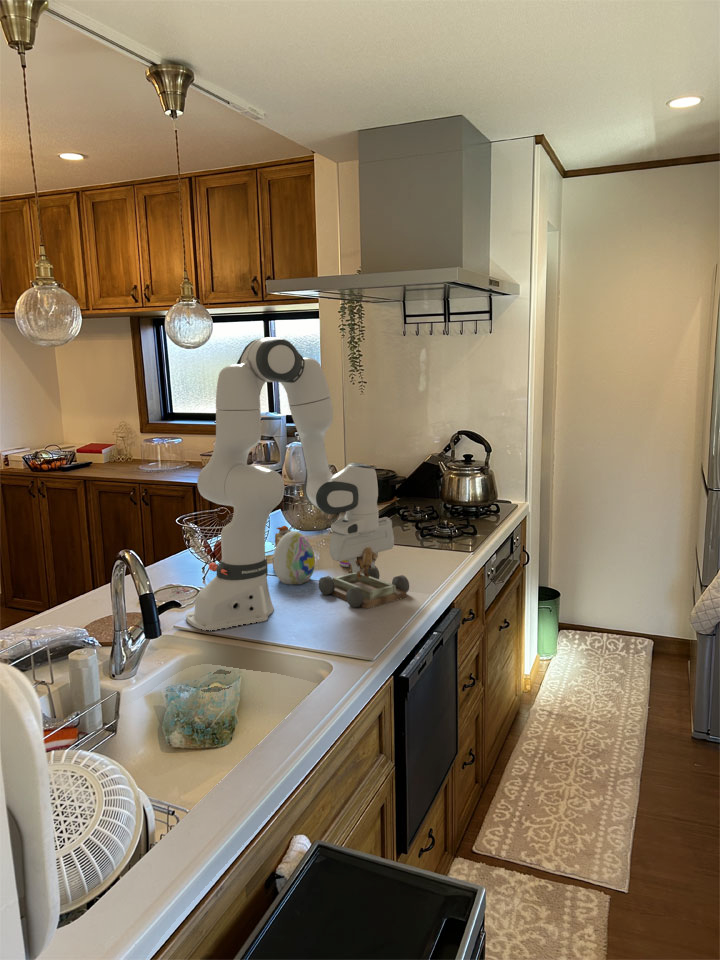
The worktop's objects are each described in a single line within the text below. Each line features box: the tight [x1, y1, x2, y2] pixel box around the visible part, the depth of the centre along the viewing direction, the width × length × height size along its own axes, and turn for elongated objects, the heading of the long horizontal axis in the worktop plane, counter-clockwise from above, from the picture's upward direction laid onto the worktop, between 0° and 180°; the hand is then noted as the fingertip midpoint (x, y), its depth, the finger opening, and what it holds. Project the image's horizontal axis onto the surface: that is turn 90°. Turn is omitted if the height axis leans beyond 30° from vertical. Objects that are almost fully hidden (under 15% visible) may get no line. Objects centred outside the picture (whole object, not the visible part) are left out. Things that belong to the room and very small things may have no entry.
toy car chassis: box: [318, 565, 410, 610], centre depth 201 cm, size 18×20×5 cm
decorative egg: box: [272, 530, 316, 585], centre depth 213 cm, size 12×12×15 cm
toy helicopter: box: [272, 525, 292, 572], centre depth 230 cm, size 8×21×14 cm, turn 16°
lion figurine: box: [348, 548, 379, 579], centre depth 203 cm, size 15×5×9 cm, turn 27°
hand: (363, 570), depth 200 cm, fingers closed on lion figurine, 4 cm apart
